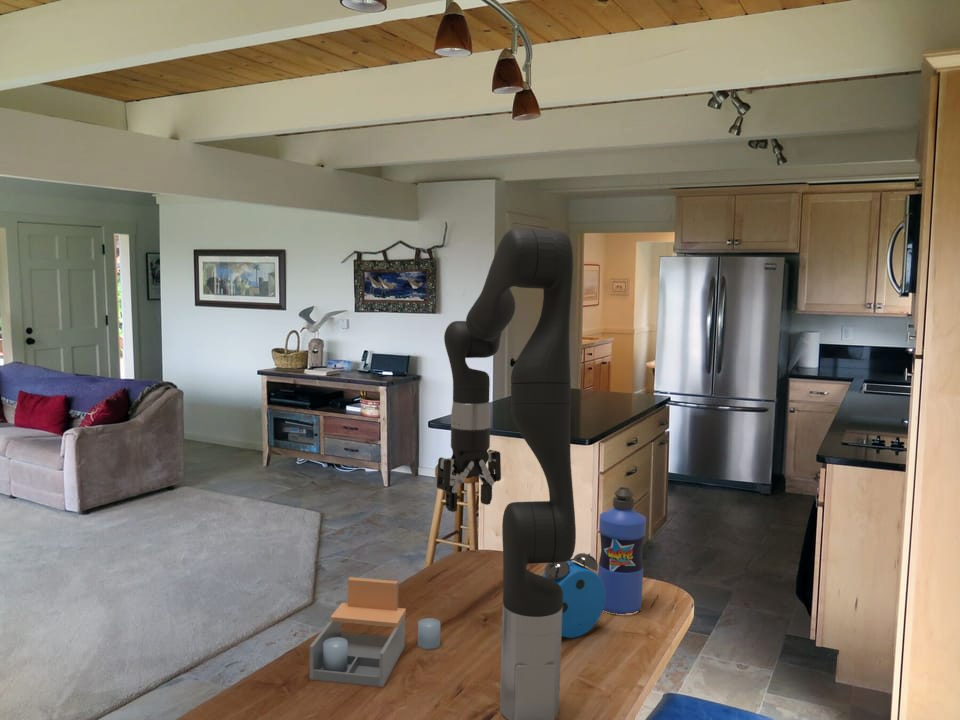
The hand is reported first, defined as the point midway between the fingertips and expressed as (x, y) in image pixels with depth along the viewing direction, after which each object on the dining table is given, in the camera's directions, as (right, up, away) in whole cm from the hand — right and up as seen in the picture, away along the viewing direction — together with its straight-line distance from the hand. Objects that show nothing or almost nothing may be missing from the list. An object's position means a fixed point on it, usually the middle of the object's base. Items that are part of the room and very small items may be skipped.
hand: (469, 507), depth 153 cm
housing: (-19, -24, -18) cm, 35 cm away
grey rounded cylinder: (-22, -23, -21) cm, 39 cm away
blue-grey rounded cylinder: (-7, -24, -11) cm, 27 cm away
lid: (-18, -17, -13) cm, 28 cm away
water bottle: (+31, -22, +9) cm, 39 cm away
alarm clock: (+19, -24, -3) cm, 30 cm away
